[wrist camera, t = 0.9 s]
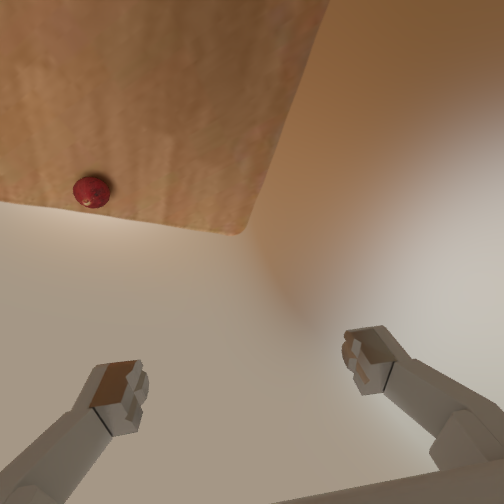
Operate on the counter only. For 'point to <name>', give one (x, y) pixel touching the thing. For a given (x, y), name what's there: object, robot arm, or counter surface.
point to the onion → (91, 192)
